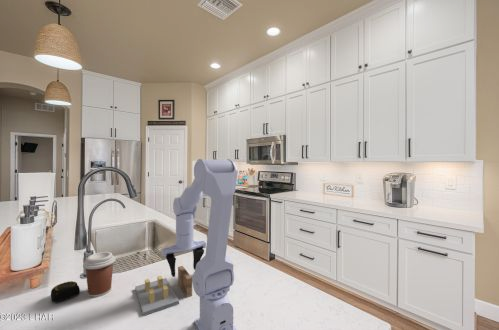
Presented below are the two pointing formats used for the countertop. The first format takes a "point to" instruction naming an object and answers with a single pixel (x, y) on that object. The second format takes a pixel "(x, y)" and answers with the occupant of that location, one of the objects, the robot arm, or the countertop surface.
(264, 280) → the countertop surface
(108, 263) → the coffee cup
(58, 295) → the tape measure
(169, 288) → the hinge board
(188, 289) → the door panel
